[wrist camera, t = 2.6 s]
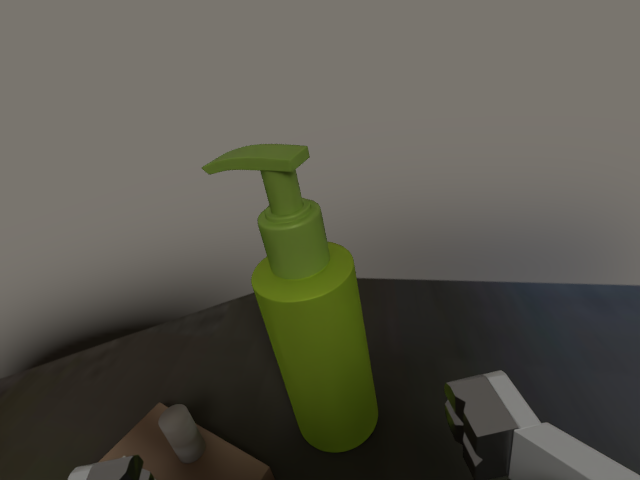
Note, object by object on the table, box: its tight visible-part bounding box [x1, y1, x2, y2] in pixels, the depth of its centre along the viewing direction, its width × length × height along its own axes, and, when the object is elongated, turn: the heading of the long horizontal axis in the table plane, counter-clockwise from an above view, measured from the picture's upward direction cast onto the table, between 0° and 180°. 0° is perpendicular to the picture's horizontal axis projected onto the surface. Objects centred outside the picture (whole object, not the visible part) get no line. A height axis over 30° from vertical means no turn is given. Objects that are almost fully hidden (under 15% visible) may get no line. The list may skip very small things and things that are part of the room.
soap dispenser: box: [202, 144, 378, 453], centre depth 24 cm, size 6×7×20 cm
